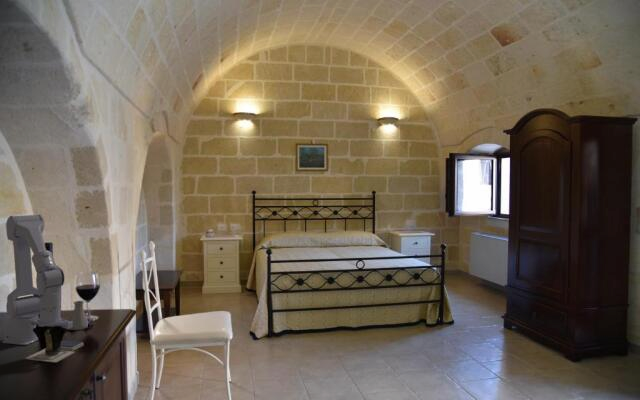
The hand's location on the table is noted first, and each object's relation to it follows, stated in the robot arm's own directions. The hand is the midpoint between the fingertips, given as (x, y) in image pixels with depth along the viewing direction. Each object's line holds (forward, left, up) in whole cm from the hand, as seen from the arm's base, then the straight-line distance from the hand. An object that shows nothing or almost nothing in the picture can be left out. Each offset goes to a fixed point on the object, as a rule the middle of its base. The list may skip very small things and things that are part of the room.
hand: (50, 348), depth 140 cm
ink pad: (0, +7, -2) cm, 8 cm away
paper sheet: (0, 0, -2) cm, 2 cm away
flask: (-10, +25, -3) cm, 27 cm away
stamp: (0, +1, -1) cm, 2 cm away
